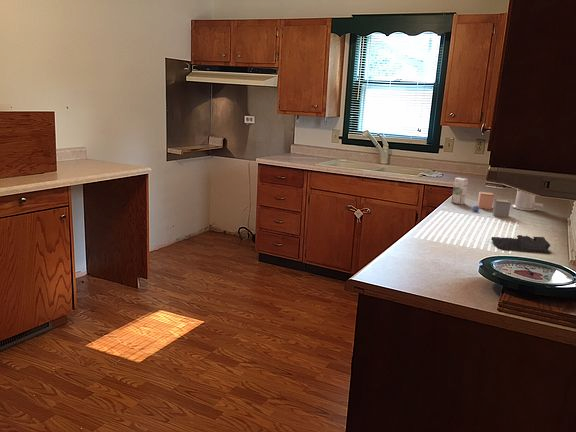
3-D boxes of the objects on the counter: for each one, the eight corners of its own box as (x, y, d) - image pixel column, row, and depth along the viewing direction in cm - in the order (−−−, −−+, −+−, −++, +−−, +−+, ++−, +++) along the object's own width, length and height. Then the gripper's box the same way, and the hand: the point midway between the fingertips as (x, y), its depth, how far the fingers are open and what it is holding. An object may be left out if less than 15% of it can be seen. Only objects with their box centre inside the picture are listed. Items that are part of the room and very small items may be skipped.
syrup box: (464, 203, 288) (468, 178, 284) (460, 204, 284) (464, 179, 280) (455, 201, 291) (459, 177, 288) (450, 202, 287) (454, 177, 284)
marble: (478, 211, 270) (479, 205, 269) (478, 212, 267) (479, 206, 266) (471, 210, 271) (472, 204, 270) (472, 211, 268) (473, 205, 267)
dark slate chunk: (486, 240, 214) (488, 229, 213) (538, 244, 214) (540, 233, 213) (499, 251, 200) (501, 240, 198) (555, 255, 199) (557, 244, 198)
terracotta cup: (490, 206, 283) (492, 193, 281) (491, 209, 276) (494, 195, 274) (477, 205, 285) (479, 191, 283) (478, 207, 278) (480, 193, 276)
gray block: (506, 215, 264) (508, 200, 262) (508, 217, 258) (510, 202, 256) (492, 213, 266) (494, 198, 264) (493, 216, 260) (496, 201, 258)
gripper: (491, 120, 281) (487, 150, 285) (495, 121, 265) (490, 153, 269) (506, 121, 279) (501, 152, 283) (510, 122, 263) (505, 155, 267)
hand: (496, 152), depth 276 cm, fingers open, 9 cm apart
